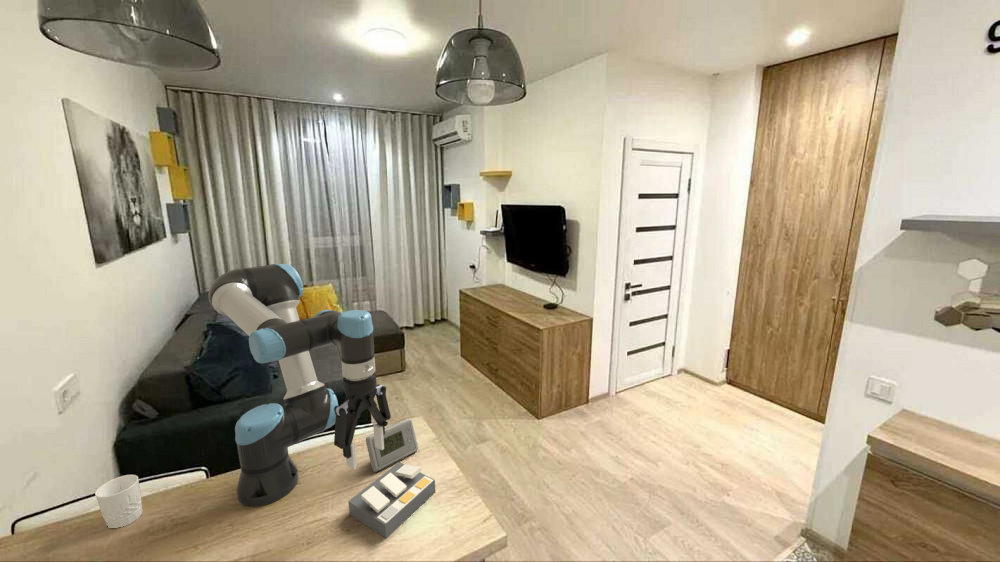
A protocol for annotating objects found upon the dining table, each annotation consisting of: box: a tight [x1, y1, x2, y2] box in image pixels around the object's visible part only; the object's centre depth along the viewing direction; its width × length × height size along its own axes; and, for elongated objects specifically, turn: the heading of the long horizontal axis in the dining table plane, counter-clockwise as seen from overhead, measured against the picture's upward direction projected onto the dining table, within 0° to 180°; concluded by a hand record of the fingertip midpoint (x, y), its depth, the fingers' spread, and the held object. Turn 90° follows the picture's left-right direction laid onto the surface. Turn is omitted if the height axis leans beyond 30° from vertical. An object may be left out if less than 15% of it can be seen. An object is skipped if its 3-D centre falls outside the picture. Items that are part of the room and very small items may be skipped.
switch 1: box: [361, 486, 390, 513], centre depth 100 cm, size 6×4×2 cm, turn 58°
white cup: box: [94, 474, 144, 529], centre depth 99 cm, size 8×8×10 cm
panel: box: [347, 461, 436, 539], centre depth 105 cm, size 14×18×5 cm
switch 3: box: [396, 464, 422, 479], centre depth 110 cm, size 6×4×2 cm, turn 58°
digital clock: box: [365, 417, 419, 473], centre depth 123 cm, size 16×9×11 cm, turn 123°
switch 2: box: [379, 472, 407, 497], centre depth 105 cm, size 6×4×2 cm, turn 58°
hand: (366, 456), depth 98 cm, fingers open, 8 cm apart
